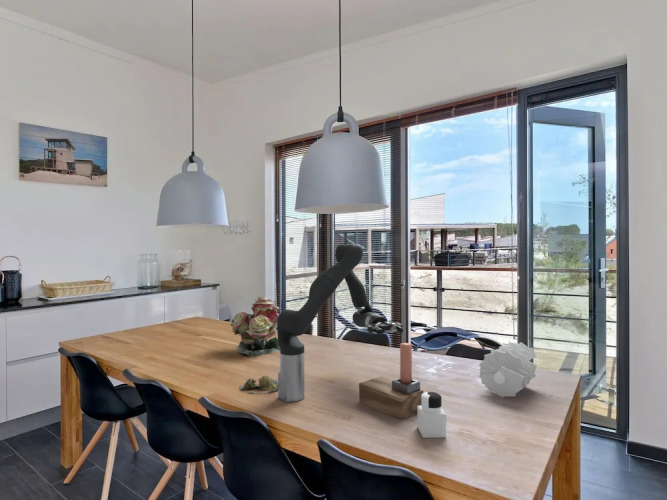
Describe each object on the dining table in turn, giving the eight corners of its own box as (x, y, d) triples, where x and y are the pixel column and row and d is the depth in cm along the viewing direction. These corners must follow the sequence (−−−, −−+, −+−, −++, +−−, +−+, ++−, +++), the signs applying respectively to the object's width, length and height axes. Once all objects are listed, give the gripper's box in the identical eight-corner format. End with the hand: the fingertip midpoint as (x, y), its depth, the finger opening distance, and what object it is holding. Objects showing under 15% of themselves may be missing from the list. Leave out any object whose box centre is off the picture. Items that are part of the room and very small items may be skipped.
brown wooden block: (401, 419, 133) (401, 389, 132) (359, 402, 148) (359, 375, 148) (423, 410, 140) (423, 381, 140) (381, 394, 156) (381, 368, 155)
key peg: (406, 392, 138) (406, 346, 138) (397, 389, 141) (397, 344, 141) (414, 389, 141) (414, 344, 141) (405, 386, 144) (405, 342, 144)
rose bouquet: (227, 348, 228) (227, 295, 228) (277, 342, 240) (277, 293, 240) (237, 359, 205) (237, 301, 205) (291, 353, 217) (291, 297, 217)
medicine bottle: (439, 427, 127) (439, 389, 127) (446, 437, 120) (446, 398, 120) (417, 427, 127) (417, 389, 127) (422, 438, 120) (422, 398, 120)
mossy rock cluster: (292, 385, 168) (292, 372, 168) (264, 398, 153) (264, 384, 153) (260, 378, 177) (260, 366, 177) (230, 390, 162) (230, 377, 162)
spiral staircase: (487, 406, 153) (507, 385, 173) (532, 397, 143) (547, 376, 162) (466, 360, 158) (487, 345, 177) (508, 348, 147) (526, 333, 167)
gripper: (360, 315, 168) (373, 322, 153) (391, 313, 172) (408, 320, 156) (360, 333, 168) (374, 342, 153) (392, 331, 172) (408, 339, 156)
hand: (391, 331), depth 154 cm, fingers open, 8 cm apart
